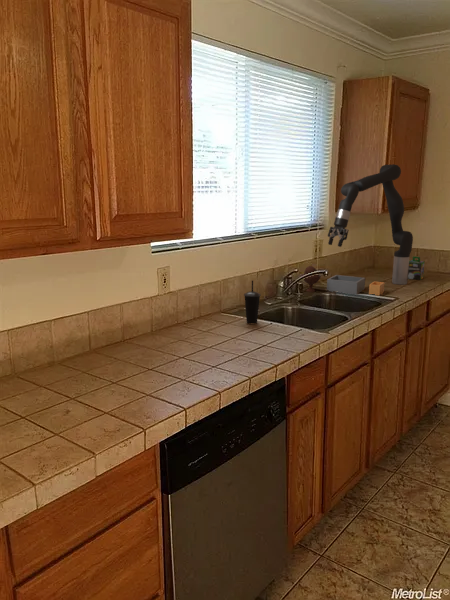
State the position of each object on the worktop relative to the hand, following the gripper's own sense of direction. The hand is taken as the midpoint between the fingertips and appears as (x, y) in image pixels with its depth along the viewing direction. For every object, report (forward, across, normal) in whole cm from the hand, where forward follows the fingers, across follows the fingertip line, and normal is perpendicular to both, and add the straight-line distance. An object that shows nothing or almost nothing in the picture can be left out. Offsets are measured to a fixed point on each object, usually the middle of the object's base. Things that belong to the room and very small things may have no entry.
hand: (334, 245), depth 298 cm
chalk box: (+6, +6, -79) cm, 79 cm away
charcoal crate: (+24, -2, -16) cm, 29 cm away
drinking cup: (+47, -37, +66) cm, 89 cm away
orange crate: (+21, -16, -26) cm, 37 cm away
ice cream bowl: (+29, +6, +3) cm, 30 cm away
